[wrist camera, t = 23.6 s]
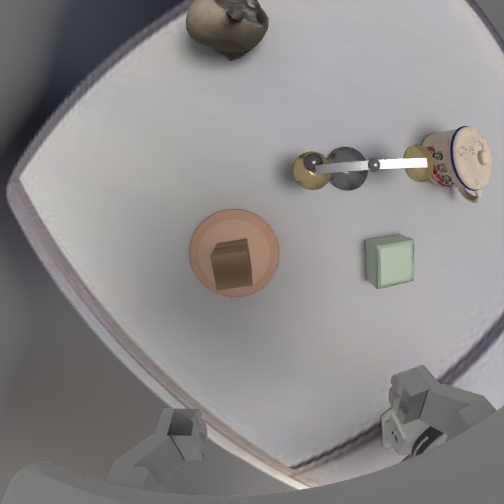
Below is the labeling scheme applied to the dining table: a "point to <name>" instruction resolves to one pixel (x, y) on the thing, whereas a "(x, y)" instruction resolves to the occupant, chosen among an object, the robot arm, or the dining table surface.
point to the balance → (357, 167)
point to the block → (231, 264)
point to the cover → (389, 260)
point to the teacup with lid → (460, 160)
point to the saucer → (229, 229)
